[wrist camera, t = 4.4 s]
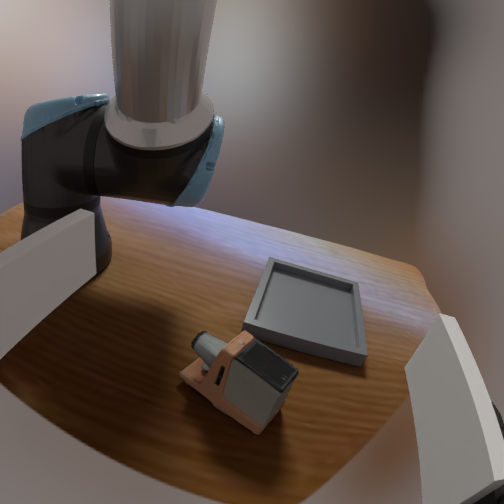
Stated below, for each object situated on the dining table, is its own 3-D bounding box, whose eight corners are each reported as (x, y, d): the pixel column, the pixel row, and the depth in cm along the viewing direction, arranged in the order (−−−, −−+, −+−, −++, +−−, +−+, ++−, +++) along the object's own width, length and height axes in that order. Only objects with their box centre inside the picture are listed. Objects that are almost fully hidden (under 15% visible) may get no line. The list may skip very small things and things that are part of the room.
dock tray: (240, 334, 35) (243, 321, 34) (266, 267, 50) (269, 256, 49) (360, 366, 34) (367, 355, 33) (353, 292, 49) (358, 282, 48)
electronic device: (205, 358, 31) (215, 303, 28) (283, 408, 27) (309, 359, 24) (176, 380, 28) (181, 325, 24) (259, 438, 24) (283, 393, 20)
